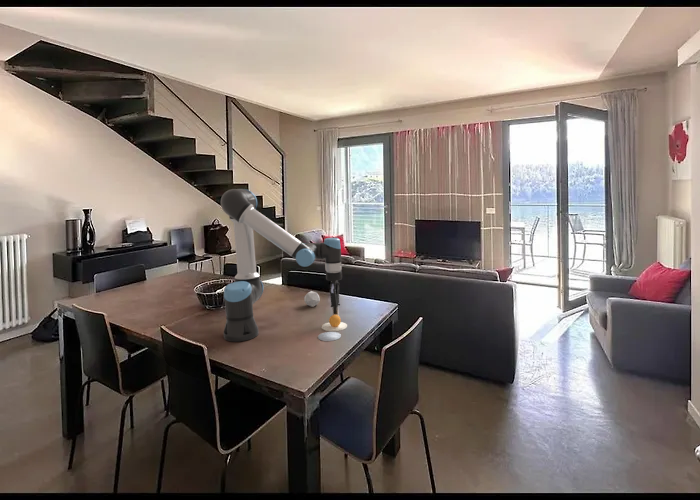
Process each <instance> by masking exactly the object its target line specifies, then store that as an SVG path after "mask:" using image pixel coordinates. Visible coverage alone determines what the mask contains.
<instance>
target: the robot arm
mask: <svg viewBox="0 0 700 500" xmlns="http://www.w3.org/2000/svg"><path fill="white" fill-rule="evenodd" d="M220 206H221V207H220V208H222V210H223V212H224V213H225V214H226V215H227V216H229V220H230V221H231V223H233V232H234V235H233V236H234V246H235V257H236V269H237V273H236V275H235V276H234V282H231V283H228V284H227V285H225V286H224V288H223V299H224V307H225V309H224V311H225V317H226V321H225V323H224V324H225V326H224V330H223V339H224V340H225V341H228V342H235V343H236V342H237V343H239V342H244V341H248V340H249V341H250V340H252V339H254V338H256V337H258V335H259V326H258V324H257V322H256V320H255V317H254V307H253V305H254V304H255V303H256V302H258V301H259V299H260V298H262V295H263V293H264V289H265V288H264V287H265V286H264V284H263V283H264V282H263V281H262V280H261V275H260V273H259V272H257V263H256V249H255V235H254V232H256V233H258V234H259V235H260V236H261V237H263V238H265V239H266V240H267V241H268V242H271V243H272V244H273V245H274V246H276V247H277V248H279V249H281V250H282V251H283V252H285V253H286V254H288V255H289V256H290V257H292V258H293V259H294V260H295V261H296V263H297V264H298V266H301V267H303V268H304V267H309V266H311V265H313V263H314V262H315V261H316V260H324V263H325V264H324V265H325V268H324V269H325V271H326V272H325V280H326V281H328V282H330V284H329V289H328V290H329V296H330V308H332V309H331V310H332V315H338V316H339V317H340V310H339V306H341V303H340V282H339V281H340V280H342V279H343V271H342V270H343V269H342V267H344V264H343V263H342V247H341V246H342V245H341V240H340V238H338V237H327V238H324V240H323V242H309V243H308V242H304V243H303V242H302V241H301V240H299V239H298V238H296V237H295V236H294V235H292V234H290V232H288V231H286V229H284V228H282V227H281V226H279V225H278V224H277V223H276V222H274V221H273V220H271V219H270V218H268V217H266V215H264V214H262V213H261V212H259V210H257V207H258V199H257V196H256V195H255V194H254V192H253V191H251V190H249V189H245V188H237V189H236V188H232V189H231V188H230V189H228V190H227V191H225V192H224V193H223V194H222V195H221V198H220Z"/></svg>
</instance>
